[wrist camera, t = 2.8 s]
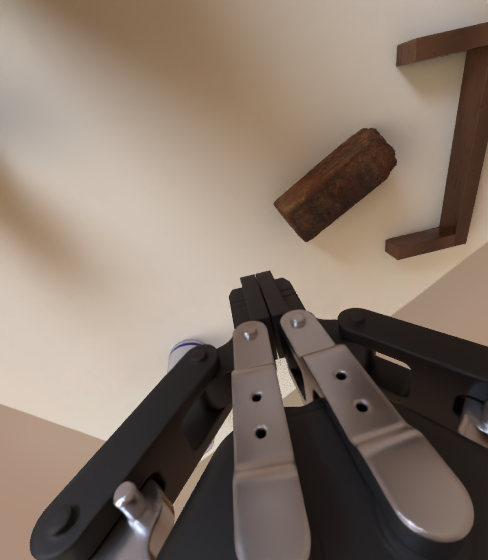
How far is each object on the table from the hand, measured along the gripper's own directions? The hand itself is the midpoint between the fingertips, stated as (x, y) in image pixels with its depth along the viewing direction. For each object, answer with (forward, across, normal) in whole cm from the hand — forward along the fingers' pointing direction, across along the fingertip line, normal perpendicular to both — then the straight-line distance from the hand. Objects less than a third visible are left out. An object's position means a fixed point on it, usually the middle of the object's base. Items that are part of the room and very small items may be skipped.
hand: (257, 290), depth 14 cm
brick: (+17, -10, 0) cm, 20 cm away
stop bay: (+17, -21, 0) cm, 27 cm away
